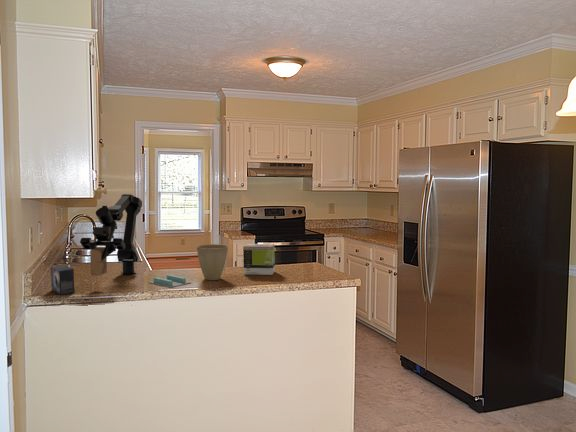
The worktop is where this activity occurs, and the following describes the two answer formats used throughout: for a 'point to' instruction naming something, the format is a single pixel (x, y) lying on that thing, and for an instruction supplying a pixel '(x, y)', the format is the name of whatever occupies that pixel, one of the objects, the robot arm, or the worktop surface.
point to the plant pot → (212, 260)
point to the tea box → (259, 259)
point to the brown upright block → (98, 262)
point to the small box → (62, 279)
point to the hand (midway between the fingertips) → (97, 259)
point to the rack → (170, 281)
